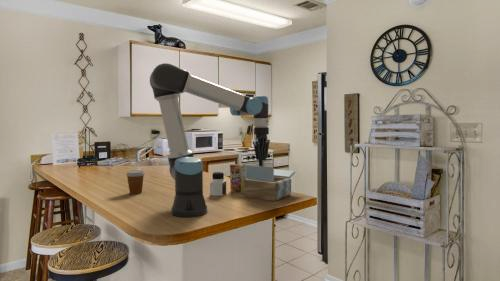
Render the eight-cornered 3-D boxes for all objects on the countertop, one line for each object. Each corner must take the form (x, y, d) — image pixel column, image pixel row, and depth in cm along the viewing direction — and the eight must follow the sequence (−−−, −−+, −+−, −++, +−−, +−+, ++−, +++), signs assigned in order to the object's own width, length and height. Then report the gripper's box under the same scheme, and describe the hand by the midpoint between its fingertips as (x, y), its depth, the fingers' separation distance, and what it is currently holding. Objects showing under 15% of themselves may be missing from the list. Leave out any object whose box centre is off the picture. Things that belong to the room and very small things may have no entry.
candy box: (229, 191, 184) (229, 164, 184) (235, 190, 188) (235, 163, 187) (240, 193, 178) (240, 165, 177) (246, 192, 181) (246, 165, 180)
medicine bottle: (222, 196, 173) (222, 173, 172) (209, 195, 174) (209, 173, 173) (226, 193, 180) (226, 171, 179) (213, 192, 181) (213, 171, 180)
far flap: (288, 176, 174) (294, 170, 180) (263, 174, 184) (269, 168, 189) (289, 178, 175) (295, 172, 180) (264, 175, 184) (270, 170, 189)
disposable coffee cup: (123, 194, 178) (122, 172, 177) (133, 190, 187) (132, 170, 186) (138, 195, 175) (138, 173, 175) (148, 191, 185) (147, 170, 184)
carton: (276, 201, 160) (276, 183, 160) (243, 196, 172) (243, 179, 172) (292, 195, 173) (292, 178, 173) (260, 190, 185) (260, 175, 185)
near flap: (247, 178, 171) (247, 164, 171) (273, 181, 162) (274, 167, 162) (245, 178, 170) (246, 165, 170) (272, 181, 161) (272, 167, 161)
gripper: (260, 127, 159) (261, 175, 161) (274, 126, 169) (274, 171, 171) (248, 127, 163) (249, 174, 165) (261, 126, 173) (262, 170, 175)
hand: (262, 172), depth 168 cm, fingers closed
